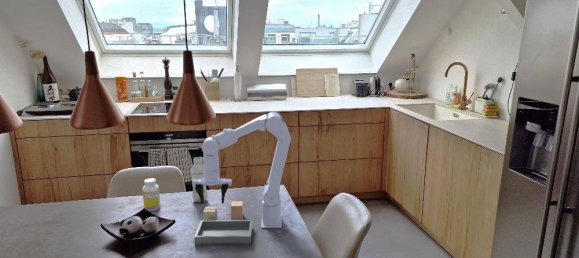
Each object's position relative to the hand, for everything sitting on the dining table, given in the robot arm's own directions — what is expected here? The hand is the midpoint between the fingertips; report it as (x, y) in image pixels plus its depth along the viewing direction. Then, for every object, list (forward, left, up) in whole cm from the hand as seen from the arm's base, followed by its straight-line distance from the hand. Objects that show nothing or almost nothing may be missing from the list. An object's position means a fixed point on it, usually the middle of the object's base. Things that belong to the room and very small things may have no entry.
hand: (212, 202), depth 156 cm
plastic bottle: (-23, -10, -10) cm, 27 cm away
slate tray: (+9, +5, -10) cm, 14 cm away
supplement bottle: (-16, -28, -10) cm, 34 cm away
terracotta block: (-7, +9, -10) cm, 15 cm away
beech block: (-2, -1, -10) cm, 10 cm away
